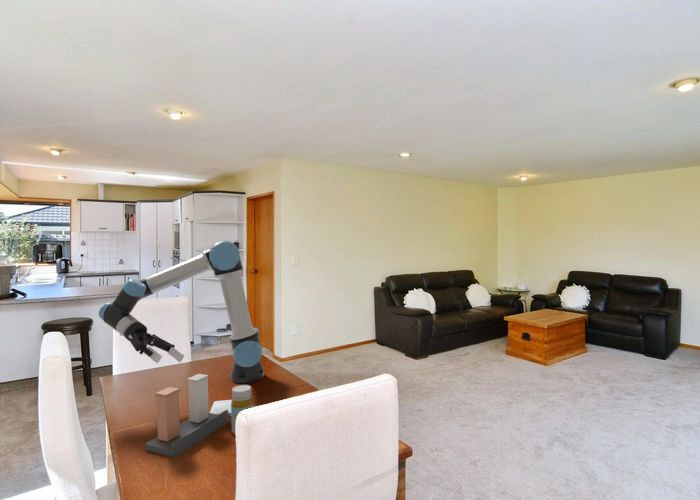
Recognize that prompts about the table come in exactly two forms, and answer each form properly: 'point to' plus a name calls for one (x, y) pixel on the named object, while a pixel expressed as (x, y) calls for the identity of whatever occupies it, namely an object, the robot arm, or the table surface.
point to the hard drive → (221, 407)
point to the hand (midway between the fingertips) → (171, 359)
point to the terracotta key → (168, 413)
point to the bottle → (240, 401)
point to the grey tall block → (198, 398)
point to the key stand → (188, 435)
